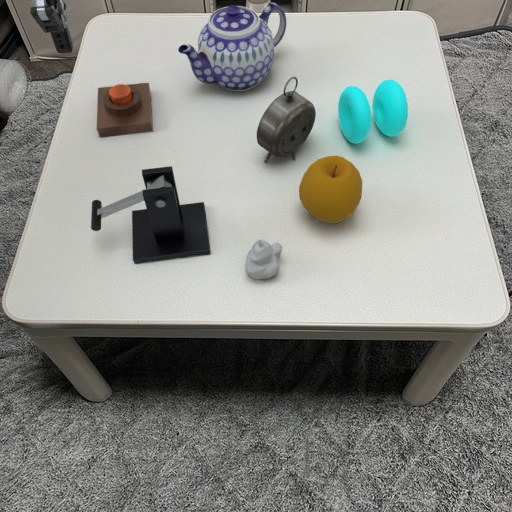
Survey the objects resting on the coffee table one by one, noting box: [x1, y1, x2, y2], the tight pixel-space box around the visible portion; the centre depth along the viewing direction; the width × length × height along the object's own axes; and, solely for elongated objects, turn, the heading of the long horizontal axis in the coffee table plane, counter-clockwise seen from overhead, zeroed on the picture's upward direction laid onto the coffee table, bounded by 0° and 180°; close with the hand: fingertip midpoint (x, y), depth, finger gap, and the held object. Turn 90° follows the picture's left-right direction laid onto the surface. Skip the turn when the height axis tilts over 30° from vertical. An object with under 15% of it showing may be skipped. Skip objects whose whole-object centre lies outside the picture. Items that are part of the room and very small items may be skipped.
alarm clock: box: [256, 76, 317, 164], centre depth 87 cm, size 11×5×16 cm, turn 134°
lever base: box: [131, 165, 211, 265], centre depth 79 cm, size 12×10×13 cm
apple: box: [298, 155, 363, 224], centre depth 81 cm, size 10×10×12 cm
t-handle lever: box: [90, 175, 172, 232], centre depth 76 cm, size 13×5×2 cm, turn 99°
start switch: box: [96, 82, 154, 138], centre depth 99 cm, size 10×12×4 cm
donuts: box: [337, 79, 409, 144], centre depth 93 cm, size 10×10×10 cm
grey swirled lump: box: [245, 239, 283, 280], centre depth 77 cm, size 5×7×8 cm
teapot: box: [177, 2, 287, 92], centre depth 101 cm, size 25×15×15 cm, turn 125°
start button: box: [109, 83, 132, 105], centre depth 97 cm, size 4×4×2 cm
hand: (65, 50), depth 74 cm, fingers closed
